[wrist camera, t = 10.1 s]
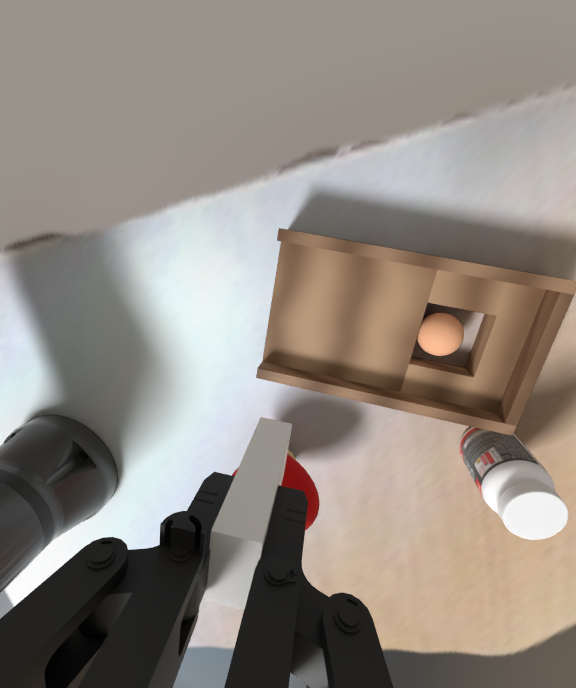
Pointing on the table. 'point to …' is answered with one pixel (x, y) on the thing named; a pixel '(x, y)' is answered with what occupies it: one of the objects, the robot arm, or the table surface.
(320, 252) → the lane
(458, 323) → the ball
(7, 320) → the table surface
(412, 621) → the table surface
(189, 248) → the table surface
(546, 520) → the pill bottle
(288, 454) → the red heart-shaped lump
